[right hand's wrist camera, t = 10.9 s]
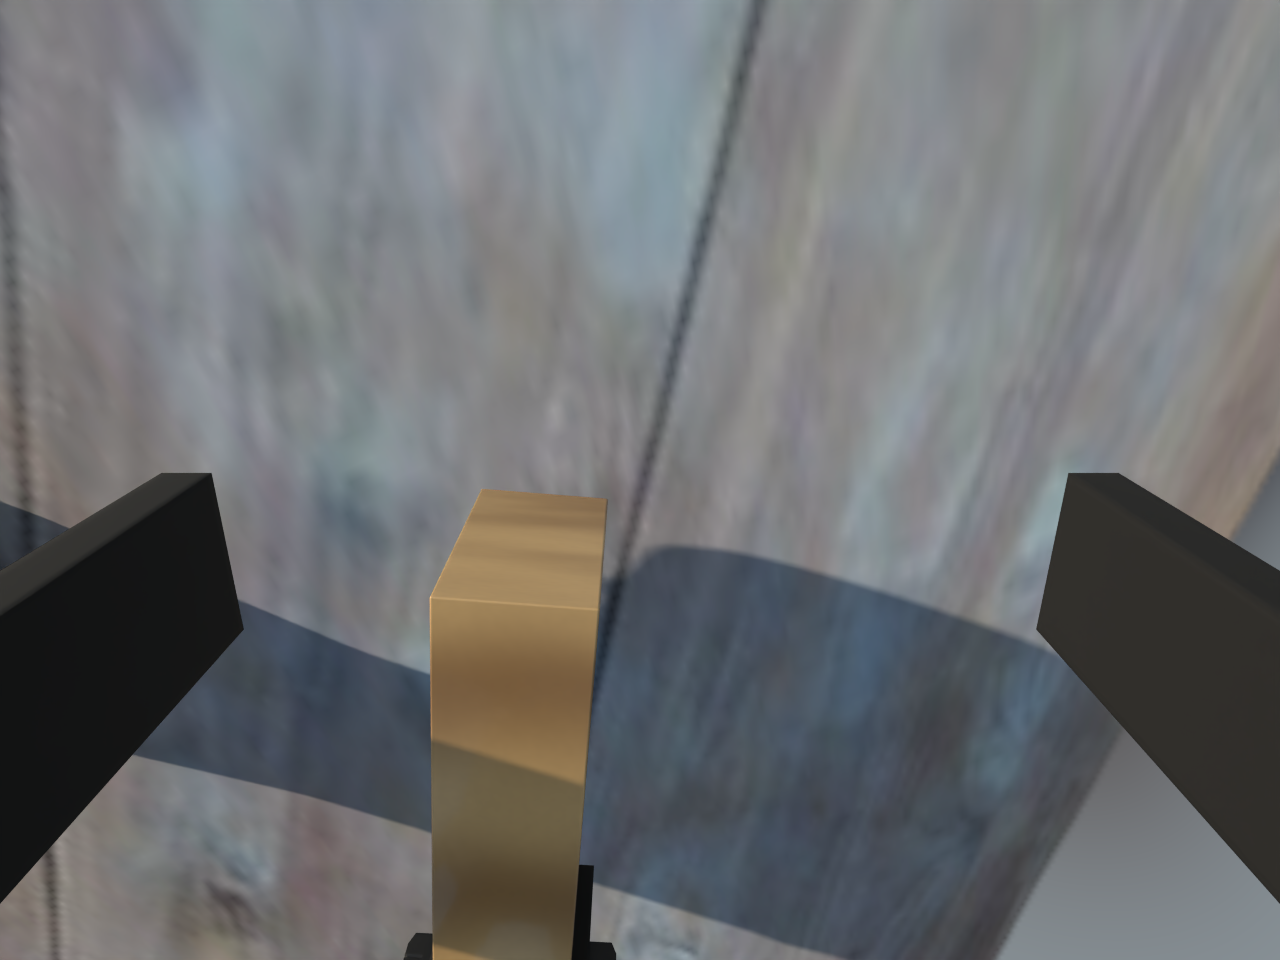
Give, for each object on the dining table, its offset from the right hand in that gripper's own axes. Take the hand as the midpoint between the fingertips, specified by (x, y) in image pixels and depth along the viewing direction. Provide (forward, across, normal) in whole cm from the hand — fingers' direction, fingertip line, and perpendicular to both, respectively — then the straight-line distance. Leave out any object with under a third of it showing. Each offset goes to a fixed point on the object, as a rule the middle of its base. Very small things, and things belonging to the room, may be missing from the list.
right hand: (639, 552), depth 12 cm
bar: (+17, -5, -17) cm, 25 cm away
